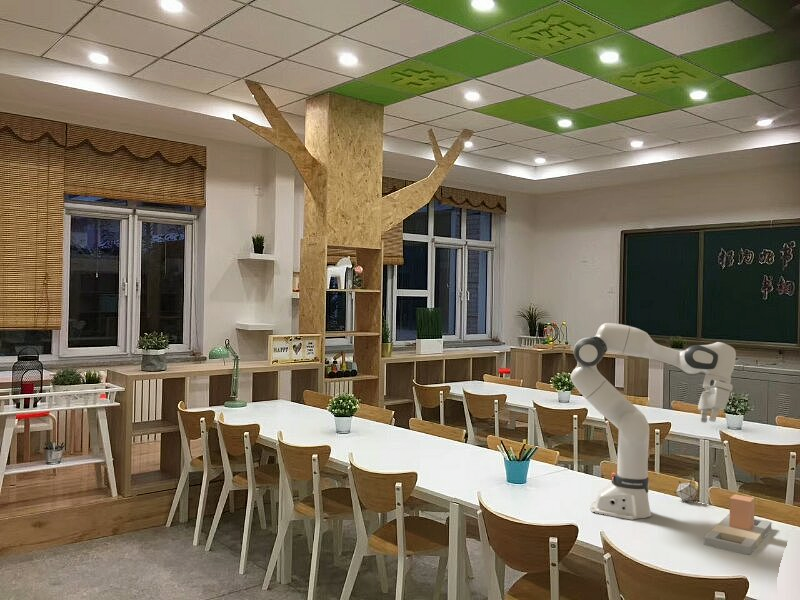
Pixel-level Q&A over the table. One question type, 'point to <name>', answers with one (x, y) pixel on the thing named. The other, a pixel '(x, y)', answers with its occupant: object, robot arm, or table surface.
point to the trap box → (737, 536)
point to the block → (741, 512)
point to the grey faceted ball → (686, 491)
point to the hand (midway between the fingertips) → (707, 421)
